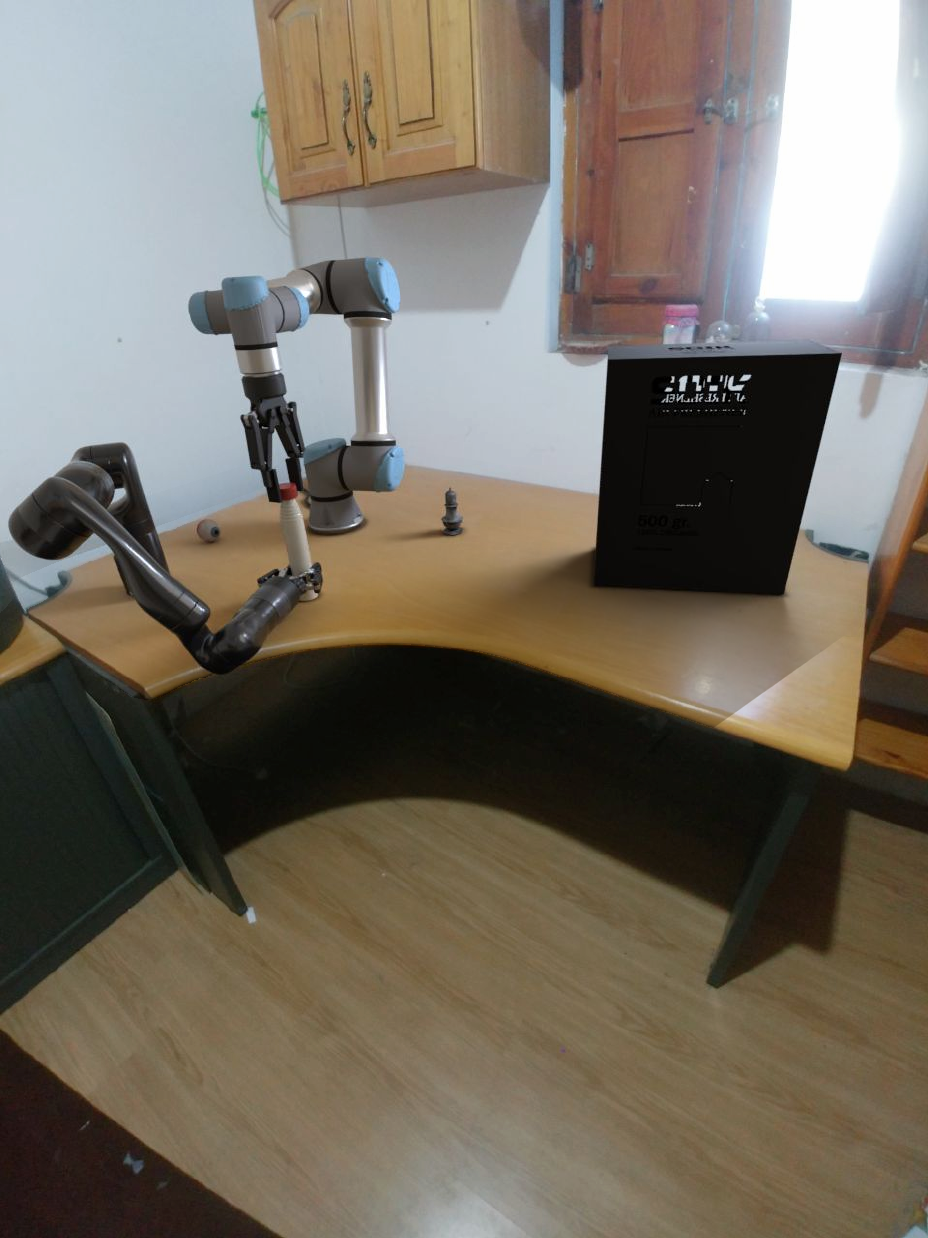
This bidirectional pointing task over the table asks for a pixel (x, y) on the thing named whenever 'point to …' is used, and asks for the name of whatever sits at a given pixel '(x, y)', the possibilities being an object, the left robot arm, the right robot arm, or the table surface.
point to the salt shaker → (451, 515)
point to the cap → (288, 491)
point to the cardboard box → (709, 463)
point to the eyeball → (208, 530)
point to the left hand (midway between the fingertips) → (307, 565)
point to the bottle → (296, 541)
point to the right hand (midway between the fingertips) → (287, 495)
